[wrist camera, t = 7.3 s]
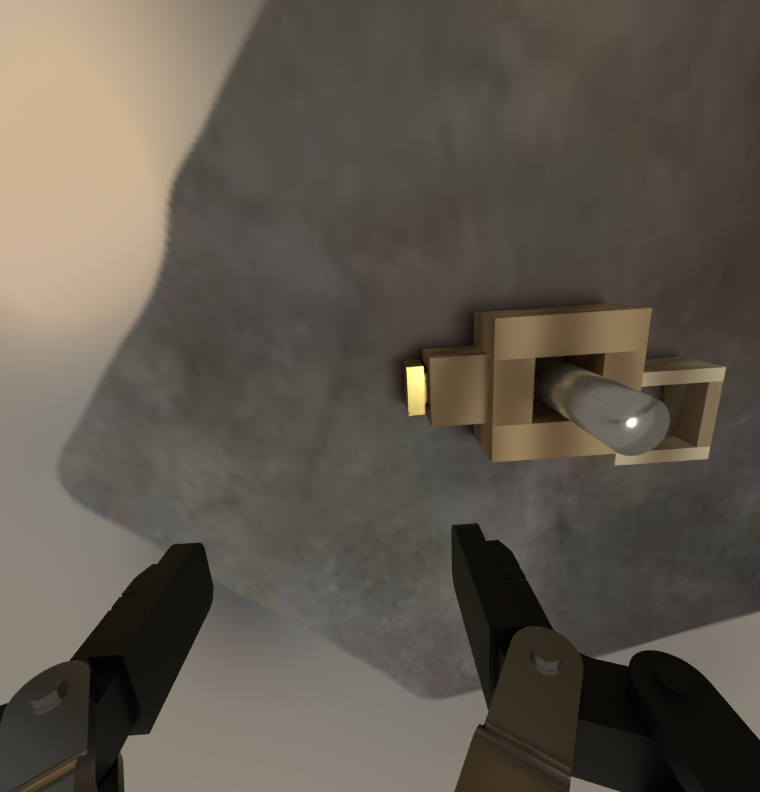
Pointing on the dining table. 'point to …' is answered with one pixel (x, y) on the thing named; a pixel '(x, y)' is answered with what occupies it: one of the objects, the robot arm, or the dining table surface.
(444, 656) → the dining table surface
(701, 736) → the robot arm
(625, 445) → the rod
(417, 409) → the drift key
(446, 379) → the socket block
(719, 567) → the dining table surface
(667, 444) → the frame
